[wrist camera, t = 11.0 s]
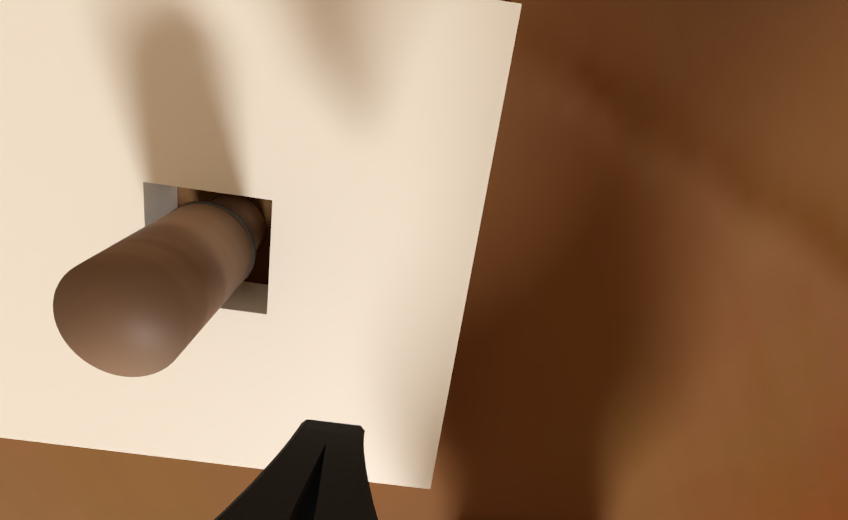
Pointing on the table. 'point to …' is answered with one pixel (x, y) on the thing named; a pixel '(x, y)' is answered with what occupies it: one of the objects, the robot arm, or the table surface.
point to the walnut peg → (158, 286)
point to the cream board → (259, 178)
